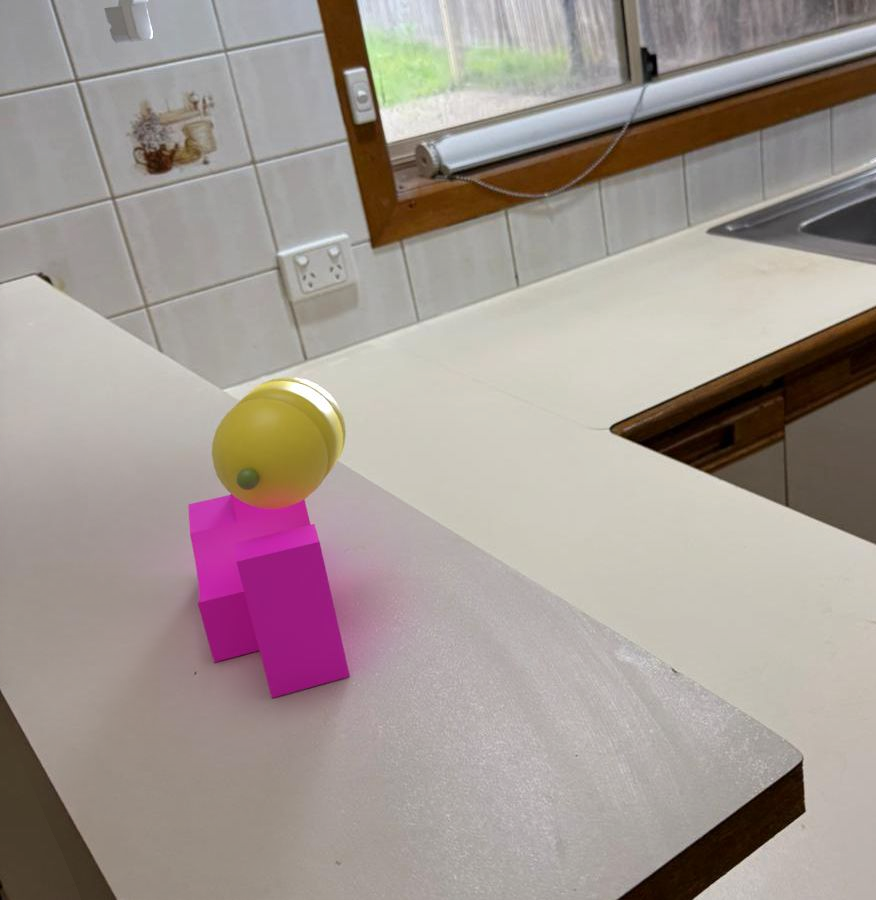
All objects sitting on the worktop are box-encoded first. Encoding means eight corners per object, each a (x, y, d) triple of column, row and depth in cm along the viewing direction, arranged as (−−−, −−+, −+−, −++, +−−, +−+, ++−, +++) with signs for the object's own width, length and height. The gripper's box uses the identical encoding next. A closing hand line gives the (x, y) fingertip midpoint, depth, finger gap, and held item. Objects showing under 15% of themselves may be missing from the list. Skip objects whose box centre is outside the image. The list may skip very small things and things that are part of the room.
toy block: (207, 572, 67) (175, 456, 64) (313, 546, 69) (287, 432, 66) (218, 712, 54) (179, 575, 51) (349, 676, 56) (319, 541, 53)
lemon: (245, 557, 54) (327, 496, 52) (160, 471, 53) (241, 405, 51) (314, 470, 63) (386, 414, 61) (243, 393, 62) (314, 335, 60)
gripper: (-273, -230, 54) (-165, 74, 59) (130, -289, 51) (204, 36, 57) (-177, -214, 60) (-87, 62, 65) (190, -267, 57) (252, 26, 62)
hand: (51, 50), depth 61 cm, fingers open, 8 cm apart
